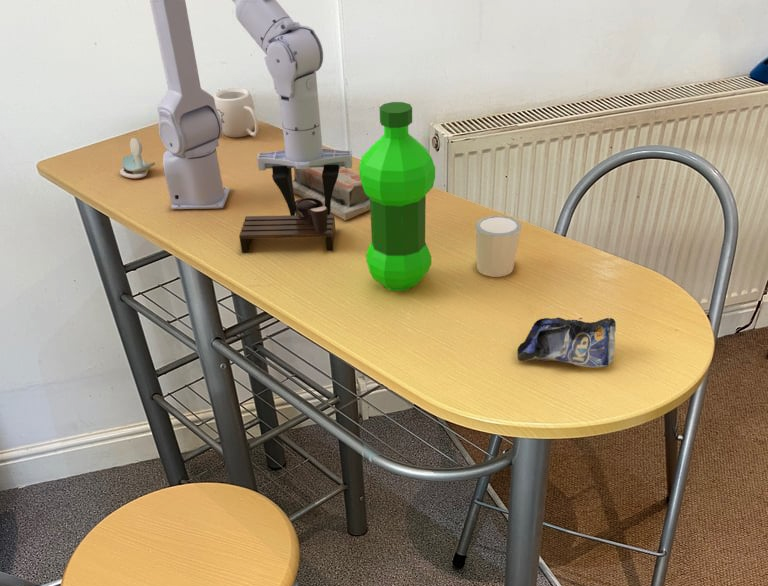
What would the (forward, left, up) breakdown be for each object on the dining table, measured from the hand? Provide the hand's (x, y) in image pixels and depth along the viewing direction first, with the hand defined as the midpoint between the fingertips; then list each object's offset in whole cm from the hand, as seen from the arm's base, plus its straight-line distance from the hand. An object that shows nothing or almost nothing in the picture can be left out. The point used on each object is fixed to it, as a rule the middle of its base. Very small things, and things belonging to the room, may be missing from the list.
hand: (310, 212), depth 124 cm
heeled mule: (+1, 0, -2) cm, 2 cm away
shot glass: (+30, -10, -5) cm, 32 cm away
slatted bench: (-4, 0, -5) cm, 6 cm away
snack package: (+37, -34, -5) cm, 50 cm away
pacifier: (-37, +30, -5) cm, 48 cm away
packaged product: (+3, +17, -5) cm, 18 cm away
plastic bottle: (+15, -14, -5) cm, 21 cm away
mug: (-19, +49, -5) cm, 53 cm away
